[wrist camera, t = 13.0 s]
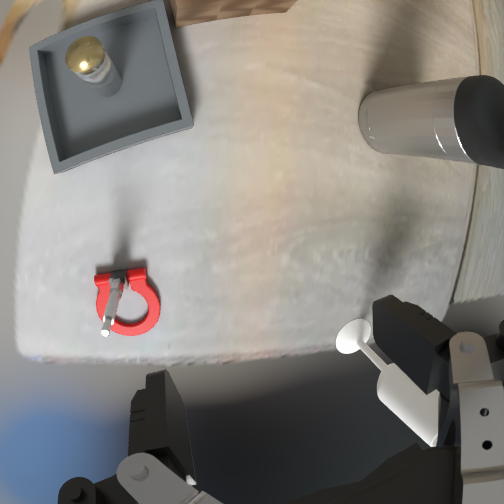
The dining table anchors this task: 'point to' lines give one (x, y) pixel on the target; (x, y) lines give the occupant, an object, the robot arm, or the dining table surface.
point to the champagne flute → (395, 385)
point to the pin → (93, 65)
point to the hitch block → (222, 9)
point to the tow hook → (112, 292)
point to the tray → (120, 104)
